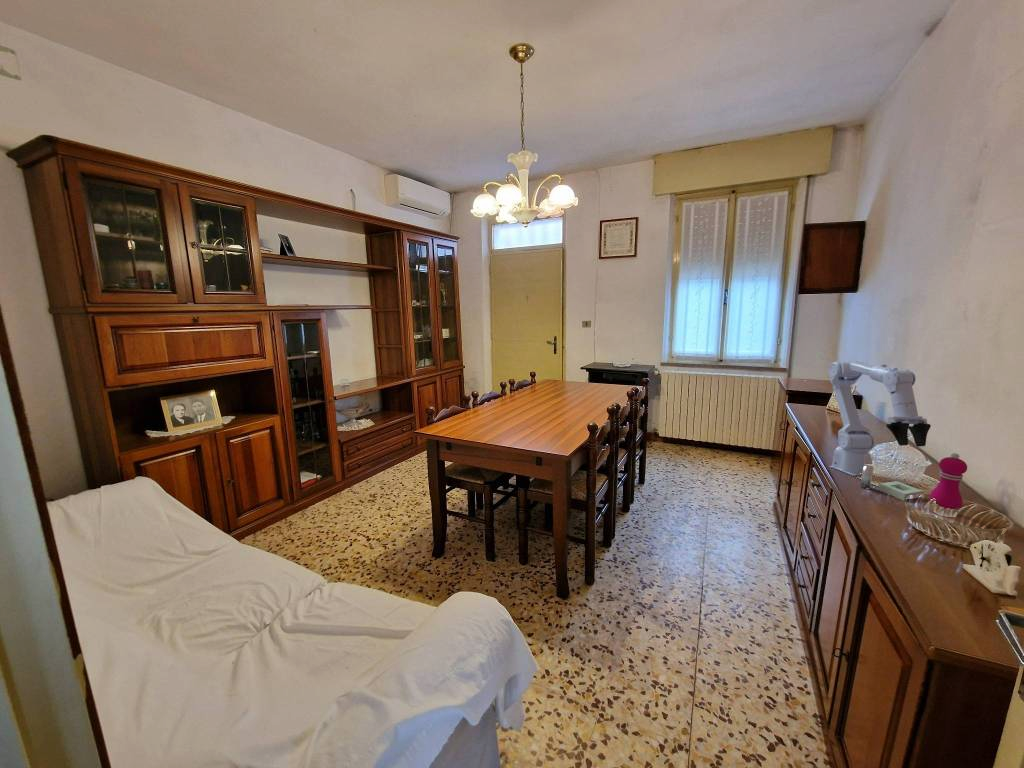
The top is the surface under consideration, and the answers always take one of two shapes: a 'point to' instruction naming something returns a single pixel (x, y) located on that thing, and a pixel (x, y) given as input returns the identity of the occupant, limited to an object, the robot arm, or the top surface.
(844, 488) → the top surface
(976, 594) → the top surface
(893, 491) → the socket block
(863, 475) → the peg
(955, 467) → the pepper mill
